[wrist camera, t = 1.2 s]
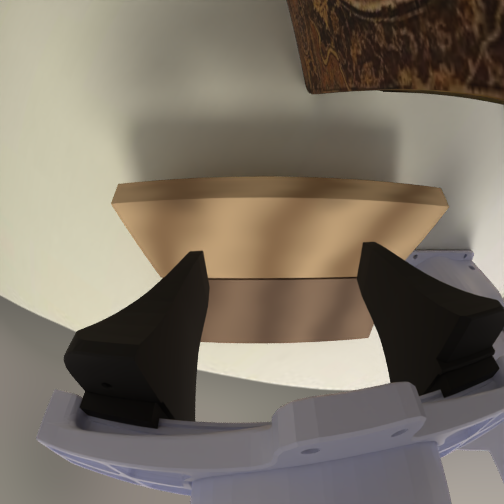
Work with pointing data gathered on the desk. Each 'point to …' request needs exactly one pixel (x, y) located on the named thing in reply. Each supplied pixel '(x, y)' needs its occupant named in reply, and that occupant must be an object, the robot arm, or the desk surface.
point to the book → (402, 46)
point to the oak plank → (275, 222)
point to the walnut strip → (285, 310)
